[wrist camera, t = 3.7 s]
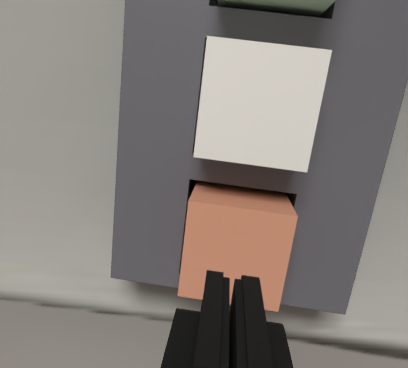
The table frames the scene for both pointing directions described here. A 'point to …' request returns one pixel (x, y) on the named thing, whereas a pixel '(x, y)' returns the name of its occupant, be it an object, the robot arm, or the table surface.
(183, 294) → the terracotta key
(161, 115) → the keypad
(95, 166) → the table surface
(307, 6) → the sage key
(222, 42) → the cream key
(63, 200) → the table surface
